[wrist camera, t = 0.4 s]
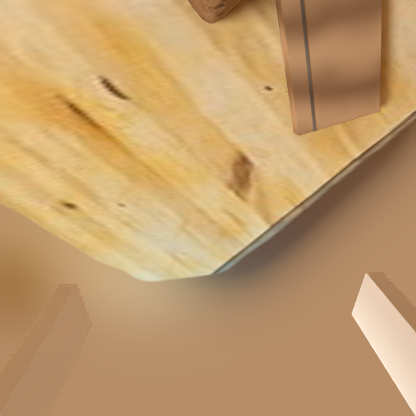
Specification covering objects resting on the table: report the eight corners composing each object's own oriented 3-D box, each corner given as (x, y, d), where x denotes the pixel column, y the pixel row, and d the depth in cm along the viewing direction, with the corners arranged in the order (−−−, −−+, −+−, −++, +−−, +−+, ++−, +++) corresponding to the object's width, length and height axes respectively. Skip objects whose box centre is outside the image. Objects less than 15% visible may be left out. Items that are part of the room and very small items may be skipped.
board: (259, -122, 23) (263, -139, 21) (370, -169, 22) (385, -192, 20) (294, 132, 34) (299, 135, 32) (370, 109, 33) (380, 111, 31)
